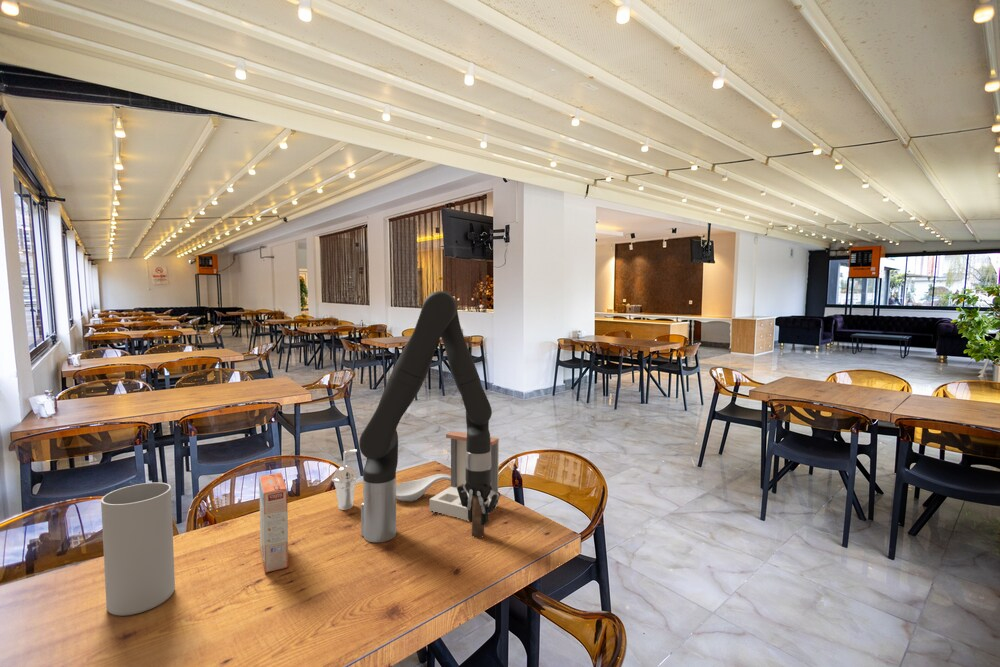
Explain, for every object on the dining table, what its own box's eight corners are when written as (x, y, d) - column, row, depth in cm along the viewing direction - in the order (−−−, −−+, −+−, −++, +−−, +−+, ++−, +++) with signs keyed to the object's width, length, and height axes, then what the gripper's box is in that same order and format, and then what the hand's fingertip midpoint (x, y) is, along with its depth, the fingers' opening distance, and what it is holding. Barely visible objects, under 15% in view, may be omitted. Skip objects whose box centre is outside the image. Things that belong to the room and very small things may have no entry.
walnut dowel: (469, 536, 139) (469, 496, 139) (475, 530, 143) (476, 491, 142) (480, 539, 138) (480, 498, 137) (486, 533, 141) (486, 494, 140)
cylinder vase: (137, 582, 115) (132, 482, 114) (187, 584, 115) (183, 483, 113) (91, 616, 103) (85, 504, 101) (147, 618, 102) (142, 505, 101)
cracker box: (290, 567, 122) (288, 488, 121) (264, 574, 119) (261, 493, 118) (283, 543, 134) (282, 471, 133) (259, 549, 131) (257, 475, 130)
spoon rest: (393, 507, 159) (393, 486, 158) (389, 494, 170) (389, 474, 169) (462, 499, 166) (462, 478, 166) (454, 486, 177) (454, 467, 177)
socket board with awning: (429, 511, 156) (429, 441, 154) (453, 495, 168) (453, 431, 166) (476, 523, 147) (477, 449, 146) (498, 506, 160) (498, 438, 158)
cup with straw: (352, 499, 164) (351, 442, 163) (364, 507, 158) (363, 448, 156) (327, 506, 159) (326, 447, 157) (339, 515, 152) (338, 454, 151)
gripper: (450, 465, 139) (450, 522, 140) (493, 474, 132) (493, 534, 133) (464, 458, 145) (464, 512, 146) (505, 465, 139) (505, 523, 140)
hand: (478, 522), depth 140 cm, fingers closed on walnut dowel, 3 cm apart
